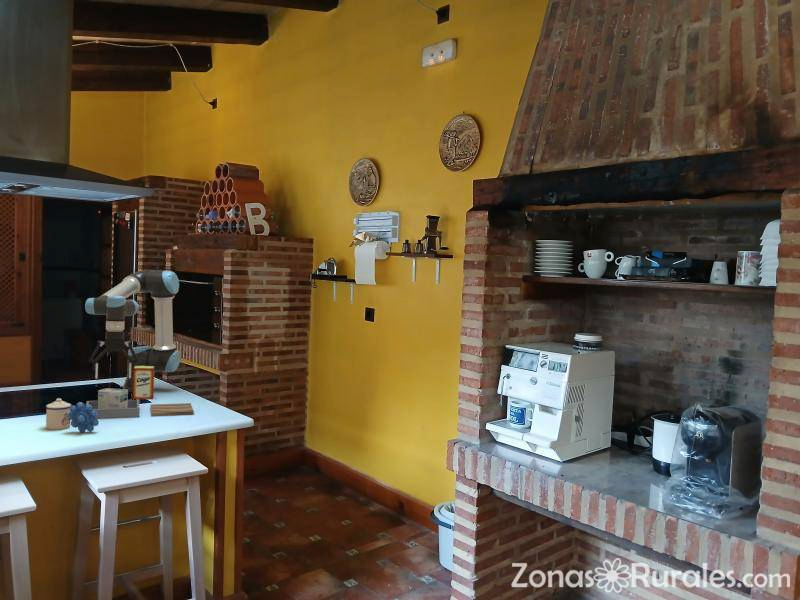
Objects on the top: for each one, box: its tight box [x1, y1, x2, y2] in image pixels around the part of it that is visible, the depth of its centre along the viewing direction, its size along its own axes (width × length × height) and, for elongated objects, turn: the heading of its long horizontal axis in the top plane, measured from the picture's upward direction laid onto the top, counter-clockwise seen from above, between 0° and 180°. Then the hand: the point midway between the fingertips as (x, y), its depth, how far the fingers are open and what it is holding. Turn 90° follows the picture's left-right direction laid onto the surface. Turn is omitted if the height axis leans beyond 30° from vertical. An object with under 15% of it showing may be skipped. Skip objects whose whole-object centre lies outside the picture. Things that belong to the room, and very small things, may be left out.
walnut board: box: [150, 402, 195, 417], centre depth 291 cm, size 18×18×2 cm
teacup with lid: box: [45, 398, 72, 431], centre depth 255 cm, size 12×9×12 cm
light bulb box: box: [97, 387, 129, 409], centre depth 281 cm, size 11×7×11 cm, turn 84°
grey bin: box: [85, 399, 140, 420], centre depth 281 cm, size 19×22×4 cm
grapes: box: [67, 401, 100, 433], centre depth 247 cm, size 12×7×12 cm, turn 100°
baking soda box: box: [131, 366, 155, 400], centre depth 315 cm, size 10×6×16 cm
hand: (113, 377), depth 280 cm, fingers open, 13 cm apart
